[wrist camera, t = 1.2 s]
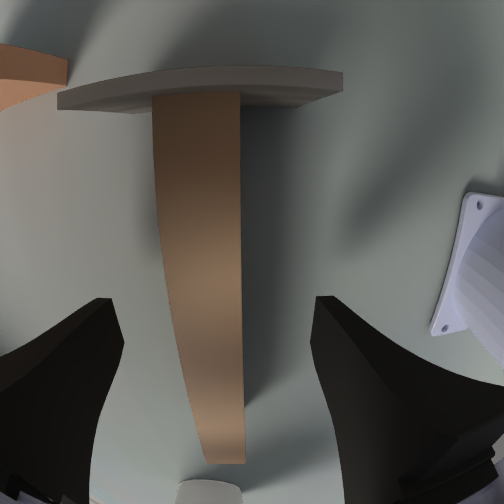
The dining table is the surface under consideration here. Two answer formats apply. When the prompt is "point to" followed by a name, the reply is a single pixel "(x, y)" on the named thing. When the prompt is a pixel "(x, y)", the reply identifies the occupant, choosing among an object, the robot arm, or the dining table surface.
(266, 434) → the dining table surface
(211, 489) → the foam cup
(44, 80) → the tile
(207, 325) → the turner
